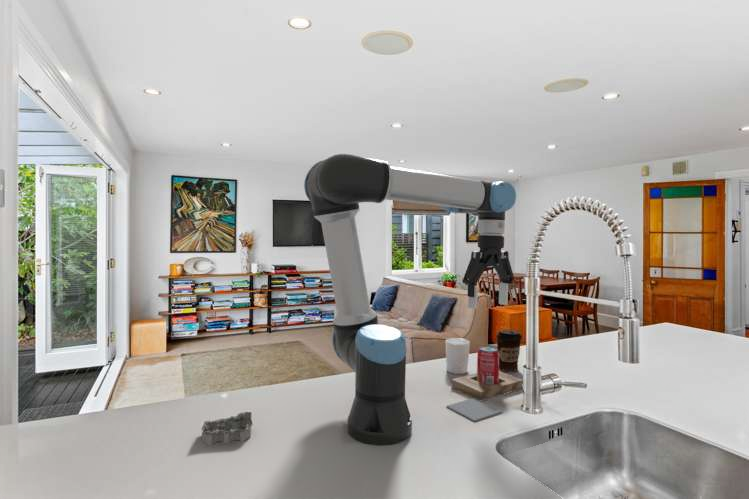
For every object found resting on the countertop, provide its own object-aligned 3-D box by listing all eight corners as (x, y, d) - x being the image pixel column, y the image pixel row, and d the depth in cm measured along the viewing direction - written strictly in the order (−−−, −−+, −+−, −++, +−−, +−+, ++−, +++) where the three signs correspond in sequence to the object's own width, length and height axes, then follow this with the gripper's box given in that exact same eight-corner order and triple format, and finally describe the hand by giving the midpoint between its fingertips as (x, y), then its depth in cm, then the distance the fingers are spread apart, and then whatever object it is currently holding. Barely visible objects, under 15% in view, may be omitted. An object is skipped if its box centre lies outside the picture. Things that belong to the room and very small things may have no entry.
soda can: (477, 391, 125) (478, 350, 124) (476, 383, 131) (477, 344, 131) (499, 392, 124) (500, 351, 123) (497, 385, 130) (498, 346, 129)
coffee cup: (524, 374, 140) (526, 334, 140) (499, 373, 140) (500, 334, 140) (516, 365, 149) (517, 328, 148) (492, 365, 149) (493, 328, 148)
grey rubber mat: (474, 421, 105) (474, 420, 105) (446, 407, 113) (446, 405, 113) (502, 412, 110) (502, 411, 110) (473, 399, 119) (473, 398, 119)
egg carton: (253, 427, 101) (253, 410, 101) (250, 443, 94) (250, 425, 93) (205, 430, 99) (206, 413, 99) (198, 447, 92) (198, 428, 91)
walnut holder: (480, 400, 118) (480, 391, 118) (451, 387, 127) (451, 379, 127) (523, 388, 128) (523, 380, 128) (493, 376, 137) (493, 369, 137)
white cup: (462, 376, 137) (463, 345, 137) (440, 371, 142) (441, 341, 141) (472, 370, 143) (473, 340, 143) (451, 365, 148) (452, 336, 148)
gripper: (471, 234, 116) (468, 312, 117) (528, 235, 130) (525, 304, 131) (451, 233, 122) (449, 307, 123) (507, 235, 136) (504, 301, 137)
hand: (488, 306), depth 127 cm, fingers open, 13 cm apart
